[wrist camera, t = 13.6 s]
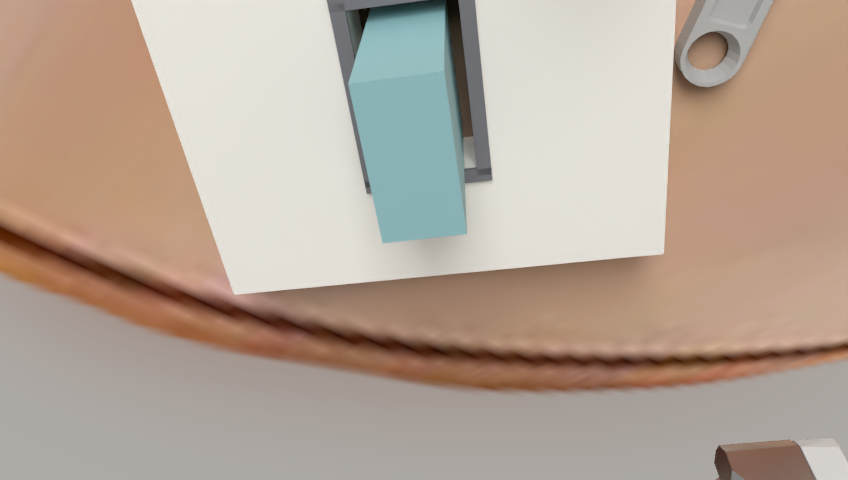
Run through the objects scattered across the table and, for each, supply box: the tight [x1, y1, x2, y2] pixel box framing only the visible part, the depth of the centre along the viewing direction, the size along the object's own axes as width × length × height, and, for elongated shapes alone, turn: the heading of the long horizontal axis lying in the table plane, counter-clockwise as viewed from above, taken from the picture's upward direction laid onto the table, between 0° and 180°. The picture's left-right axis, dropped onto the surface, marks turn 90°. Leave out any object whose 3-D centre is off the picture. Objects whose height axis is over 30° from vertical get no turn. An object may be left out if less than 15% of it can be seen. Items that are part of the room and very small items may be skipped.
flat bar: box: [348, 0, 467, 243], centre depth 28 cm, size 3×6×9 cm, turn 8°
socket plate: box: [131, 0, 676, 295], centre depth 31 cm, size 20×18×3 cm
